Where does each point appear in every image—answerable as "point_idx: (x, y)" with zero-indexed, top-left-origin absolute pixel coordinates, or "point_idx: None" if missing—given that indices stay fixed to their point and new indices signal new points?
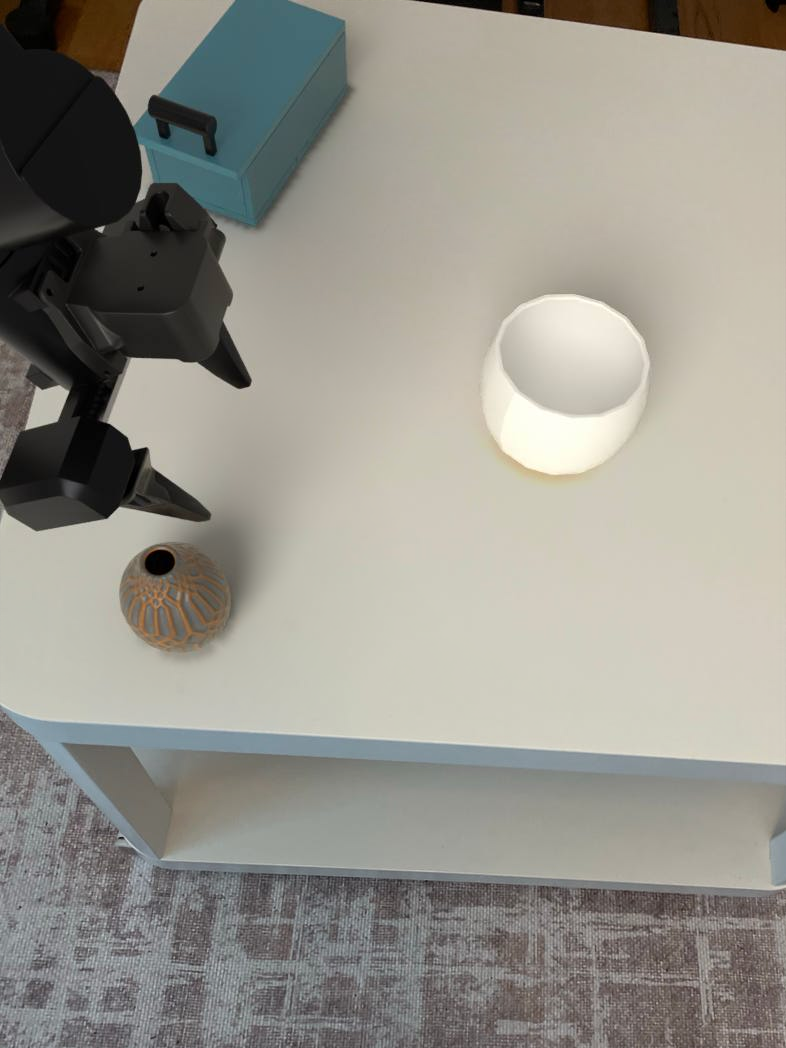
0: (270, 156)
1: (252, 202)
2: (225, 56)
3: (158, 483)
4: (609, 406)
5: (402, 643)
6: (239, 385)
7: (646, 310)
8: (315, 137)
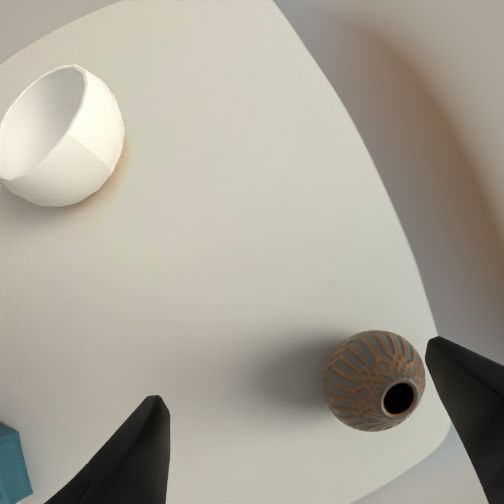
0: None
1: (4, 436)
2: None
3: None
4: (65, 128)
5: (307, 191)
6: (165, 412)
7: None
8: None
